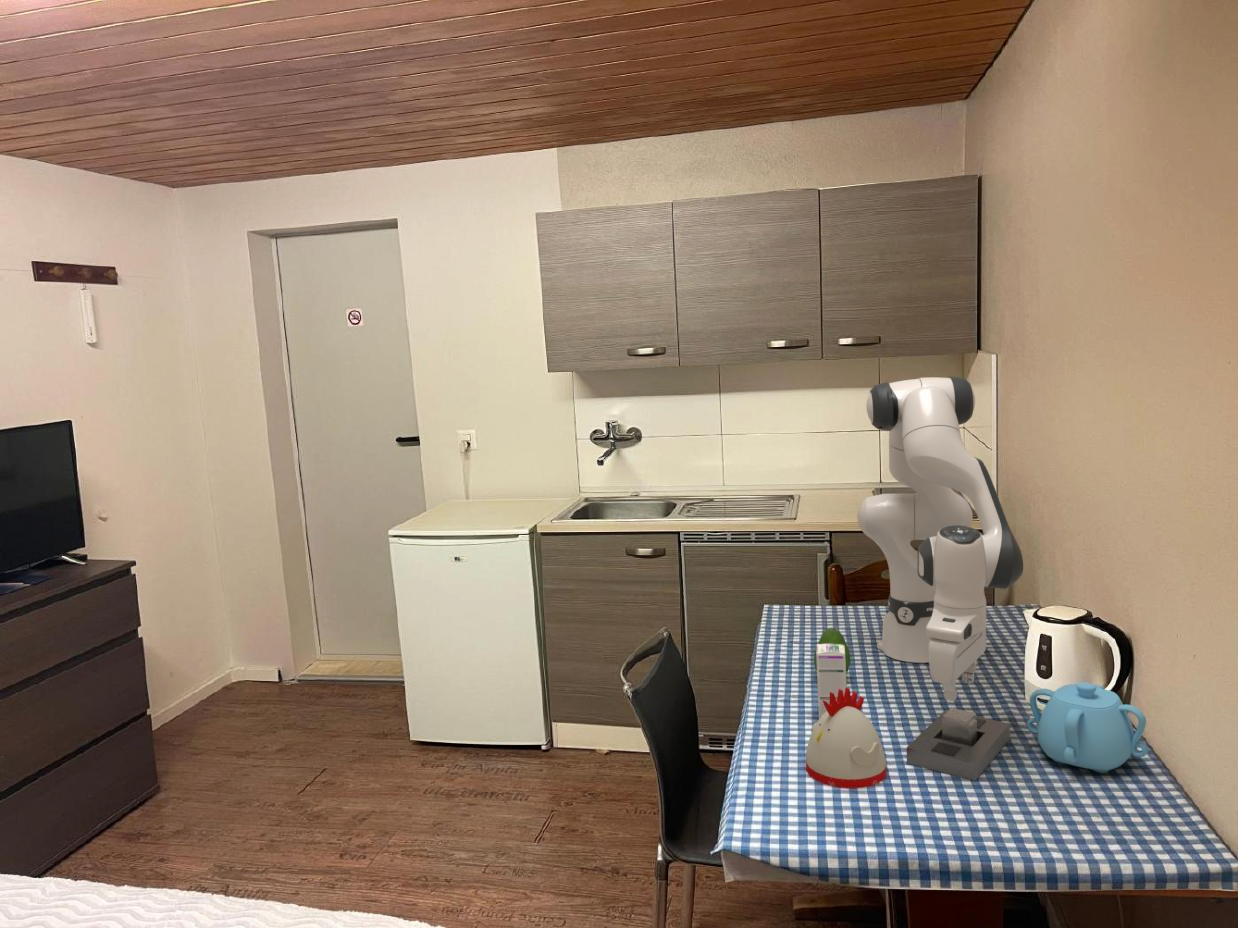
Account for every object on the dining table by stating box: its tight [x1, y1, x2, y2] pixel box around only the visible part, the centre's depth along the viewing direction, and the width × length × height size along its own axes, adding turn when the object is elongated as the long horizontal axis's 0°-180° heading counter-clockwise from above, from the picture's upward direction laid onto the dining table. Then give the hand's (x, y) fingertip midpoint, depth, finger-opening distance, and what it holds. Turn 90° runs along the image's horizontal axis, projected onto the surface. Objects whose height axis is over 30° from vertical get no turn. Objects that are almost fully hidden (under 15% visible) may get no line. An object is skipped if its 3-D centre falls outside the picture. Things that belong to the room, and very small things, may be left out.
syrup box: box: [815, 643, 848, 720], centre depth 182 cm, size 6×6×14 cm
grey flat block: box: [906, 709, 1011, 782], centre depth 165 cm, size 20×12×3 cm, turn 141°
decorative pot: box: [1026, 681, 1149, 774], centre depth 160 cm, size 16×16×14 cm
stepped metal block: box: [942, 707, 977, 747], centre depth 165 cm, size 4×5×7 cm
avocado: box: [813, 627, 851, 674], centre depth 203 cm, size 8×8×12 cm
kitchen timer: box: [805, 686, 887, 789], centre depth 160 cm, size 14×14×15 cm
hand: (959, 690), depth 165 cm, fingers open, 8 cm apart
